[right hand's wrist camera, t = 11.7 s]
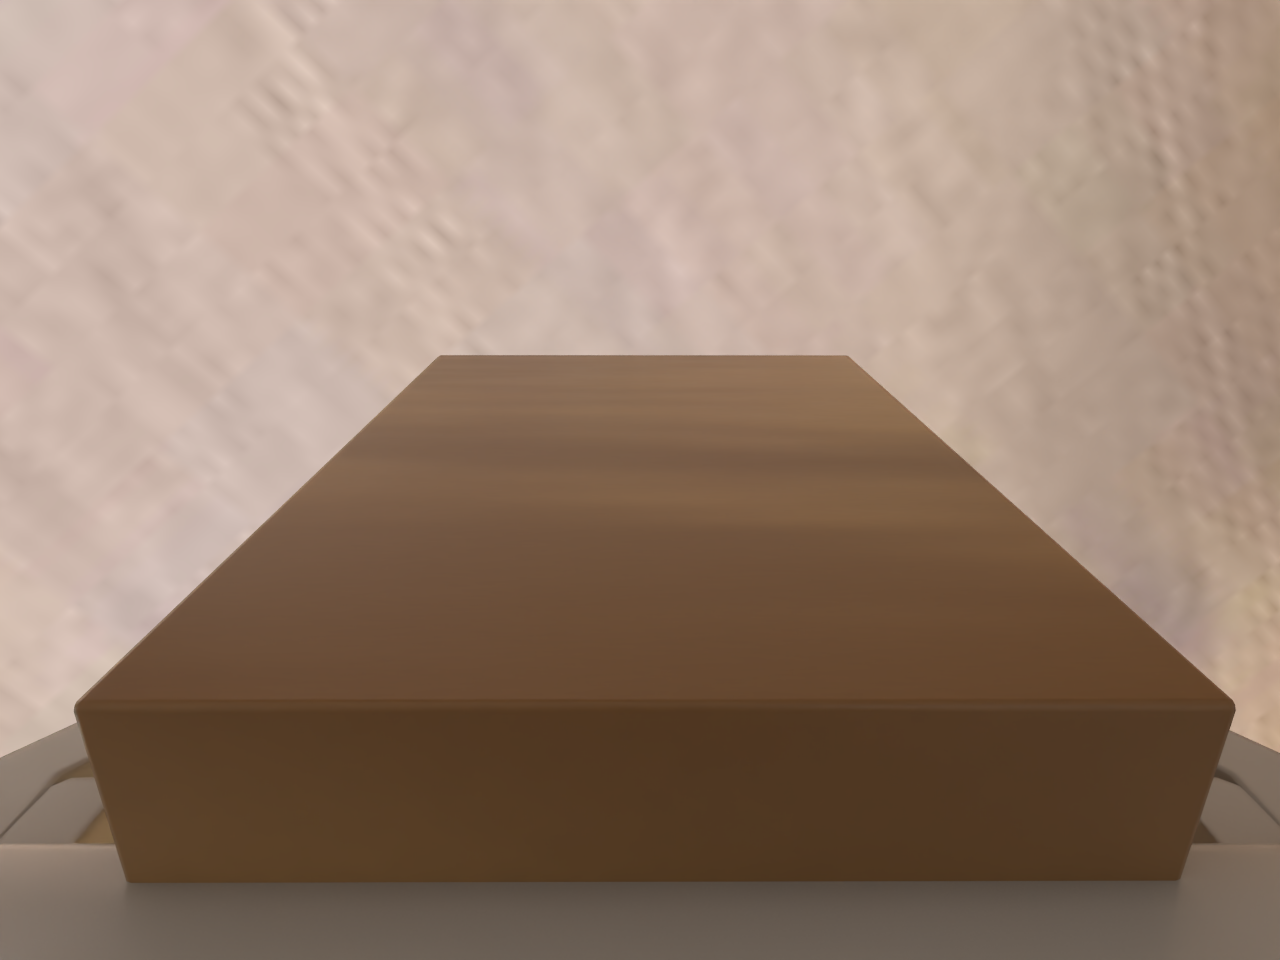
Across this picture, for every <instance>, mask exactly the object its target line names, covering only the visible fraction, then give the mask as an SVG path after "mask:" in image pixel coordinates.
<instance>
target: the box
mask: <svg viewBox="0 0 1280 960" xmlns="http://www.w3.org/2000/svg"><path fill="white" fill-rule="evenodd" d="M1235 711H1236V710H1235V704H1234V702H1233V700H1232V699H1231V698H1229V697H1228V696H1227V695H1226V694H1225V693H1224V692H1223V691H1222V690H1221V689H1219V688H1218V687H1217V686H1216V685H1215V684H1214V683H1213V682H1212V681H1210V680H1209V679H1208V678H1207V677H1206V676H1205V675H1204V674H1203V673H1202V672H1200V671H1199V670H1198V669H1197V668H1196V667H1195V666H1194V665H1193V664H1191V663H1190V662H1189V661H1188V660H1187V659H1186V658H1185V657H1184V656H1183V655H1181V654H1180V653H1179V652H1178V651H1177V650H1176V649H1175V648H1174V647H1173V646H1171V645H1170V644H1169V643H1168V642H1167V641H1166V640H1165V639H1164V638H1162V637H1161V636H1160V635H1159V634H1158V633H1157V632H1156V631H1155V630H1154V629H1152V628H1151V627H1150V626H1149V625H1148V624H1147V623H1146V622H1145V621H1143V620H1142V619H1141V618H1140V617H1139V616H1138V615H1137V614H1136V613H1135V612H1133V611H1132V610H1131V609H1130V608H1129V607H1128V606H1127V605H1126V604H1124V603H1123V602H1122V601H1121V600H1120V599H1119V598H1118V597H1117V596H1116V595H1114V594H1113V593H1112V592H1111V591H1110V590H1109V589H1108V588H1107V587H1106V586H1104V585H1103V584H1102V583H1101V582H1100V581H1099V580H1098V579H1097V578H1095V577H1094V576H1093V575H1092V574H1091V573H1090V572H1089V571H1088V570H1087V569H1085V568H1084V567H1083V566H1082V565H1081V564H1080V563H1079V562H1078V561H1076V560H1075V559H1074V558H1073V557H1072V556H1071V555H1070V554H1069V553H1068V552H1066V551H1065V550H1064V549H1063V548H1062V547H1061V546H1060V545H1059V544H1057V543H1056V542H1055V541H1054V540H1053V539H1052V538H1051V537H1050V536H1049V535H1047V534H1046V533H1045V532H1044V531H1043V530H1042V529H1041V528H1040V527H1039V526H1037V525H1036V524H1035V523H1034V522H1033V521H1032V520H1031V519H1030V518H1028V517H1027V516H1026V515H1025V514H1024V513H1023V512H1022V511H1021V510H1020V509H1018V508H1017V507H1016V506H1015V505H1014V504H1013V503H1012V502H1011V501H1009V500H1008V499H1007V498H1006V497H1005V496H1004V495H1003V494H1002V493H1001V492H999V491H998V490H997V489H996V488H995V487H994V486H993V485H992V484H990V483H989V482H988V481H987V480H986V479H985V478H984V477H983V476H982V475H980V474H979V473H978V472H977V471H976V470H975V469H974V468H973V467H971V466H970V465H969V464H968V463H967V462H966V461H965V460H964V459H963V458H961V457H960V456H959V455H958V454H957V453H956V452H955V451H954V450H953V449H951V448H950V447H949V446H948V445H947V444H946V443H945V442H944V441H942V440H941V439H940V438H939V437H938V436H937V435H936V434H935V433H934V432H932V431H931V430H930V429H929V428H928V427H927V426H926V425H925V424H923V423H922V422H921V421H920V420H919V419H918V418H917V417H916V416H915V415H913V414H912V413H911V412H910V411H909V410H908V409H907V408H906V407H904V406H903V405H902V404H901V403H900V402H899V401H898V400H897V399H896V398H894V397H893V396H892V395H891V394H890V393H889V392H888V391H887V390H886V389H884V388H883V387H882V386H881V385H880V384H879V383H878V382H877V381H875V380H874V379H873V378H872V377H871V376H870V375H869V374H868V373H867V372H865V371H864V370H863V369H862V368H861V367H860V366H859V365H858V364H856V363H855V362H854V361H853V360H852V359H851V358H850V357H849V356H637V355H441V356H439V357H438V358H437V359H435V360H434V361H433V362H432V363H431V364H430V365H429V366H428V367H427V368H426V369H425V370H424V371H423V372H422V373H421V374H420V375H419V376H418V377H417V378H416V379H415V380H413V381H412V382H411V383H410V384H409V385H408V386H407V387H406V388H405V389H404V390H403V391H402V392H401V393H400V394H399V395H398V396H397V397H396V398H395V399H394V400H392V401H391V402H390V403H389V404H388V405H387V406H386V407H385V408H384V409H383V410H382V411H381V412H380V413H379V414H378V415H377V416H376V417H375V418H374V419H373V420H372V421H370V422H369V423H368V424H367V425H366V426H365V427H364V428H363V429H362V430H361V431H360V432H359V433H358V434H357V435H356V436H355V437H354V438H353V439H352V440H351V441H349V442H348V443H347V444H346V445H345V446H344V447H343V448H342V449H341V450H340V451H339V452H338V453H337V454H336V455H335V456H334V457H333V458H332V459H331V460H330V461H329V462H327V463H326V464H325V465H324V466H323V467H322V468H321V469H320V470H319V471H318V472H317V473H316V474H315V475H314V476H313V477H312V478H311V479H310V480H309V481H308V482H306V483H305V484H304V485H303V486H302V487H301V488H300V489H299V490H298V491H297V492H296V493H295V494H294V495H293V496H292V497H291V498H290V499H289V500H288V501H287V502H286V503H284V504H283V505H282V506H281V507H280V508H279V509H278V510H277V511H276V512H275V513H274V514H273V515H272V516H271V517H270V518H269V519H268V520H267V521H266V522H265V523H263V524H262V525H261V526H260V527H259V528H258V529H257V530H256V531H255V532H254V533H253V534H252V535H251V536H250V537H249V538H248V539H247V540H246V541H245V542H244V543H243V544H241V545H240V546H239V547H238V548H237V549H236V550H235V551H234V552H233V553H232V554H231V555H230V556H229V557H228V558H227V559H226V560H225V561H224V562H223V563H222V564H221V565H219V566H218V567H217V568H216V569H215V570H214V571H213V572H212V573H211V574H210V575H209V576H208V577H207V578H206V579H205V580H204V581H203V582H202V583H201V584H200V585H198V586H197V587H196V588H195V589H194V590H193V591H192V592H191V593H190V594H189V595H188V596H187V597H186V598H185V599H184V600H183V601H182V602H181V603H180V604H179V605H178V606H176V607H175V608H174V609H173V610H172V611H171V612H170V613H169V614H168V615H167V616H166V617H165V618H164V619H163V620H162V621H161V622H160V623H159V624H158V625H157V626H155V627H154V628H153V629H152V630H151V631H150V632H149V633H148V634H147V635H146V636H145V637H144V638H143V639H142V640H141V641H140V642H139V643H138V644H137V645H136V646H135V647H133V648H132V649H131V650H130V651H129V652H128V653H127V654H126V655H125V656H124V657H123V658H122V659H121V660H120V661H119V662H118V663H117V664H116V665H115V666H114V667H112V668H111V669H110V670H109V671H108V672H107V673H106V674H105V675H104V676H103V677H102V678H101V679H100V680H99V681H98V682H97V683H96V684H95V685H94V686H93V687H92V688H90V689H89V690H88V691H87V692H86V693H85V694H84V695H83V696H82V697H81V698H80V699H79V700H78V701H77V702H76V704H75V707H74V714H75V717H76V720H77V723H78V727H79V730H80V733H81V736H82V740H83V743H84V746H85V749H86V753H87V756H88V759H89V762H90V765H91V769H92V772H93V775H94V778H95V782H96V785H97V788H98V791H99V794H100V798H101V801H102V804H103V807H104V811H105V814H106V817H107V820H108V824H109V827H110V830H111V833H112V836H113V840H114V843H115V846H116V849H117V853H118V856H119V859H120V862H121V865H122V869H123V872H124V875H125V878H126V881H127V882H130V883H331V882H786V881H1176V880H1179V879H1180V878H1181V875H1182V872H1183V869H1184V866H1185V863H1186V860H1187V857H1188V854H1189V851H1190V848H1191V845H1192V842H1193V839H1194V836H1195V833H1196V830H1197V827H1198V823H1199V820H1200V817H1201V814H1202V811H1203V808H1204V805H1205V802H1206V799H1207V796H1208V793H1209V790H1210V787H1211V784H1212V781H1213V778H1214V775H1215V772H1216V769H1217V766H1218V763H1219V760H1220V756H1221V753H1222V750H1223V747H1224V744H1225V741H1226V738H1227V735H1228V732H1229V729H1230V726H1231V723H1232V720H1233V717H1234V714H1235Z"/></svg>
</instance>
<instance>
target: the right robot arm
mask: <svg viewBox="0 0 1280 960" xmlns="http://www.w3.org/2000/svg"><path fill="white" fill-rule="evenodd" d="M0 960H1280V753H1278V752H1276V751H1274V750H1272V749H1270V748H1267V747H1265V746H1263V745H1261V744H1259V743H1256V742H1254V741H1252V740H1250V739H1248V738H1245V737H1243V736H1241V735H1239V734H1237V733H1234V732H1232V731H1230V730H1229V732H1228V735H1227V738H1226V741H1225V744H1224V747H1223V750H1222V753H1221V756H1220V760H1219V763H1218V766H1217V769H1216V772H1215V775H1214V778H1213V781H1212V784H1211V787H1210V790H1209V793H1208V796H1207V799H1206V802H1205V805H1204V808H1203V811H1202V814H1201V817H1200V820H1199V823H1198V827H1197V830H1196V833H1195V836H1194V839H1193V842H1192V845H1191V848H1190V851H1189V854H1188V857H1187V860H1186V863H1185V866H1184V869H1183V872H1182V875H1181V878H1180V879H1179V880H1176V881H786V882H331V883H130V882H127V881H126V878H125V875H124V872H123V869H122V865H121V862H120V859H119V856H118V853H117V849H116V846H115V843H114V840H113V836H112V833H111V830H110V827H109V824H108V820H107V817H106V814H105V811H104V807H103V804H102V801H101V798H100V794H99V791H98V788H97V785H96V782H95V778H94V775H93V772H92V769H91V765H90V762H89V759H88V756H87V753H86V749H85V746H84V743H83V740H82V736H81V733H80V730H79V727H78V723H75V724H73V725H71V726H69V727H66V728H64V729H62V730H60V731H58V732H56V733H53V734H51V735H49V736H47V737H45V738H42V739H40V740H38V741H36V742H34V743H32V744H29V745H27V746H25V747H23V748H21V749H18V750H16V751H14V752H12V753H10V754H8V755H5V756H3V757H1V758H0Z"/></svg>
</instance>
